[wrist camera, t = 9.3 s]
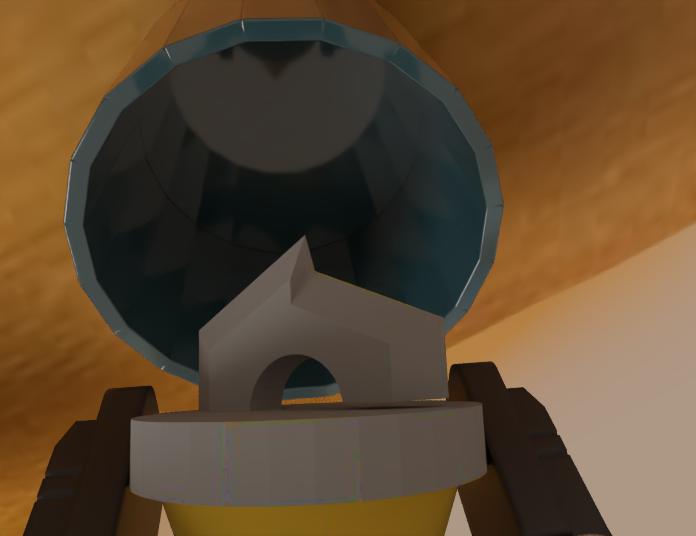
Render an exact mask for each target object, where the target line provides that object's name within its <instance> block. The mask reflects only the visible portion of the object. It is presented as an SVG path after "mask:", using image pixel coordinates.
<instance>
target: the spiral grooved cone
mask: <svg viewBox="0 0 696 536" xmlns="http://www.w3.org/2000/svg"><path fill="white" fill-rule="evenodd" d="M309 358H314V359H315V360H317V361H319V362H320V363H322V364H323V365H324V366H325V367H326V368H327V369H328V370H329V371H330V373H331V374H332V375H333V377H334V378H335V380H336V382H337V384H338V386H339V389H340V392H341V396H342V399H343V402H335V403H310V404H289V405H281V402H282V395H283V390H284V387H285V385H286V382H287V380H288V378H289V377H290V375H291V373H292V372H293V371H294V370H295V369H296V368H297V366H298V365H300V364H301V363H302V362H304V361H305V360H307V359H309ZM441 398H449V392H448V377H447V363H446V348H445V333H444V318H443V317H440V316H438V315H435V314H432V313H429V312H427V311H424V310H421V309H418V308H415V307H413V306H410V305H407V304H404V303H402V302H399V301H396V300H393V299H391V298H388V297H385V296H382V295H379V294H377V293H374V292H371V291H368V290H366V289H363V288H360V287H357V286H354V285H352V284H349V283H346V282H343V281H341V280H338V279H335V278H332V277H330V276H327V275H324V274H321V273H318V272H316V271H315V270H314V266H313V262H312V259H311V255H310V251H309V248H308V244H307V240H306V237H305V235H304V236H303V237H302V238H301V239H300V240H299V241H298V242H297V243H296V244H294V245H293V246H292V247H291V248H290V249H289V250H288V251H287V252H286V253H285V254H283V255H282V256H281V257H280V258H279V259H278V260H277V261H276V262H275V263H273V264H272V265H271V266H270V267H269V268H268V269H267V270H266V271H265V272H263V273H262V274H261V275H260V276H259V277H258V278H257V279H256V280H255V281H253V282H252V283H251V284H250V285H249V286H248V287H247V288H246V289H245V290H243V291H242V292H241V293H240V294H239V295H238V296H237V297H236V298H235V299H233V300H232V301H231V302H230V303H229V304H228V305H227V306H226V307H225V308H223V309H222V310H221V311H220V312H219V313H218V314H217V315H216V316H215V317H214V318H212V319H211V320H210V321H209V322H208V323H207V324H206V325H205V326H204V327H202V328H201V329H200V330H199V410H193V411H181V412H171V413H161V414H153V415H145V416H139V417H135V418H132V419H131V438H130V484H129V487H130V490H131V492H132V493H134V494H136V495H138V496H140V497H143V498H148V499H152V500H156V501H161V502H162V503H163V506H164V509H165V511H166V514H167V517H168V520H169V523H170V526H171V528H172V531H173V534H174V536H444V534H445V531H446V527H447V524H448V520H449V517H450V513H451V509H452V506H453V502H454V499H455V495H456V492H457V488H458V486H459V485H463V484H466V483H468V482H471V481H474V480H476V479H479V478H480V477H482V476H483V475H484V474H486V473H487V462H486V449H485V436H484V423H483V410H482V403H479V402H469V401H432V400H429V401H427V400H426V399H441ZM410 400H426V401H410Z"/></svg>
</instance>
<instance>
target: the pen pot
mask: <svg viewBox="0 0 696 536" xmlns="http://www.w3.org/2000/svg"><path fill="white" fill-rule="evenodd" d="M503 203H504V202H503V196H502V191H501V186H500V181H499V175H498V170H497V165H496V160H495V154H494V149H493V146H492V142H491V141H490V139H489V137H488V136H487V134H486V133H485V131H484V129H483V128H482V126H481V124H480V123H479V121H478V120H477V118H476V116H475V115H474V113H473V111H472V110H471V108H470V107H469V105H468V103H467V102H466V100H465V98H464V97H463V95H462V93H461V92H460V90H459V89H458V88H457V87H456V85H455V84H454V83H453V82H452V81H451V80H450V79H449V78H448V76H447V75H446V74H445V73H444V72H443V71H442V70H441V68H440V67H439V66H438V65H437V64H436V63H435V62H434V61H433V59H432V58H431V57H430V56H429V55H428V54H427V53H426V52H425V50H424V49H423V48H422V47H421V46H420V45H419V44H418V42H417V41H416V40H415V39H414V38H413V37H412V36H411V35H410V33H409V32H408V31H407V30H406V29H405V28H404V27H403V26H402V24H401V23H400V22H399V21H398V20H397V19H396V18H395V17H394V16H393V15H392V14H391V13H389V12H388V11H387V10H386V9H384V8H383V7H382V6H381V5H380V4H379V3H378V2H377V1H375V0H179V1H178V2H177V3H175V4H174V5H173V6H172V7H171V9H170V10H169V11H168V12H166V13H165V14H164V15H163V16H162V17H161V18H159V19H158V20H157V22H156V23H155V24H154V25H153V27H152V28H151V30H150V31H149V33H148V34H147V35H146V37H145V38H144V40H143V41H142V43H141V44H140V46H139V47H138V48H137V50H136V51H135V53H134V54H133V56H132V57H131V59H130V60H129V61H128V63H127V64H126V66H125V67H124V69H123V70H122V71H121V73H120V74H119V76H118V77H117V79H116V80H115V82H114V83H113V84H112V86H111V87H110V89H109V90H108V92H107V93H106V95H105V96H104V97H103V99H102V101H101V103H100V104H99V106H98V108H97V110H96V112H95V114H94V116H93V117H92V119H91V121H90V123H89V125H88V127H87V128H86V130H85V132H84V134H83V136H82V138H81V140H80V141H79V143H78V145H77V147H76V149H75V151H74V152H73V154H72V156H71V160H70V165H69V174H68V183H67V192H66V201H65V210H64V219H63V223H64V229H65V233H66V237H67V240H68V244H69V248H70V251H71V255H72V259H73V262H74V266H75V270H76V273H77V277H78V281H79V283H80V285H81V287H82V288H83V290H84V291H85V293H86V294H87V296H88V297H89V298H90V300H91V301H92V303H93V304H94V306H95V307H96V308H97V310H98V311H99V313H100V314H101V316H102V317H103V319H104V320H105V321H106V323H107V324H108V326H109V327H110V329H111V330H112V331H113V332H114V334H115V335H116V336H118V337H119V338H120V339H122V340H123V341H124V342H125V343H127V344H128V345H129V346H131V347H132V348H133V349H134V350H136V351H137V352H138V353H140V354H141V355H142V356H143V357H145V358H146V359H147V360H148V361H150V362H151V363H152V364H154V365H155V366H156V367H157V368H159V369H161V370H163V371H165V372H167V373H170V374H172V375H175V376H177V377H179V378H182V379H184V380H186V381H189V382H191V383H194V384H196V385H198V386H199V330H200V329H201V328H202V327H204V326H205V325H206V324H207V323H208V322H209V321H210V320H211V319H212V318H214V317H215V316H216V315H217V314H218V313H219V312H220V311H221V310H222V309H223V308H225V307H226V306H227V305H228V304H229V303H230V302H231V301H232V300H233V299H235V298H236V297H237V296H238V295H239V294H240V293H241V292H242V291H243V290H245V289H246V288H247V287H248V286H249V285H250V284H251V283H252V282H253V281H255V280H256V279H257V278H258V277H259V276H260V275H261V274H262V273H263V272H265V271H266V270H267V269H268V268H269V267H270V266H271V265H272V264H273V263H275V262H276V261H277V260H278V259H279V258H280V257H281V256H282V255H283V254H285V253H286V252H287V251H288V250H289V249H290V248H291V247H292V246H293V245H294V244H296V243H297V242H298V241H299V240H300V239H301V238H302V237H303V236H304V235H305V237H306V240H307V244H308V248H309V251H310V255H311V259H312V262H313V266H314V270H315V271H316V272H318V273H321V274H324V275H327V276H330V277H332V278H335V279H338V280H341V281H343V282H346V283H349V284H352V285H354V286H357V287H360V288H363V289H366V290H368V291H371V292H374V293H377V294H379V295H382V296H385V297H388V298H391V299H393V300H396V301H399V302H402V303H404V304H407V305H410V306H413V307H415V308H418V309H421V310H424V311H427V312H429V313H432V314H435V315H438V316H440V317H443V318H444V333H445V335H446V334H447V333H448V332H449V331H450V330H451V329H452V328H453V327H454V326H455V325H456V323H457V322H458V321H459V320H460V319H461V318H462V317H463V316H464V315H465V314H466V313H467V312H468V310H469V309H470V307H471V305H472V304H473V302H474V300H475V298H476V296H477V294H478V292H479V290H480V288H481V286H482V285H483V283H484V281H485V279H486V277H487V275H488V273H489V271H490V269H491V267H492V265H493V264H494V260H495V256H496V250H497V244H498V237H499V231H500V225H501V219H502V213H503V207H504V205H503ZM338 393H341V392H340V389H339V386H338V384H337V382H336V380H335V378H334V377H333V375H332V374H331V373H330V371H329V370H328V369H327V368H326V367H325V366H324V365H323V364H322V363H320V362H319V361H317V360H315V359H314V358H309V359H307V360H305V361H304V362H302V363H301V364H300V365H298V366H297V368H296V369H295V370H294V371H293V372H292V373H291V375H290V377H289V378H288V380H287V382H286V385H285V387H284V390H283V395H282V400H290V399H304V398H317V397H327V396H332V395H335V394H338Z"/></svg>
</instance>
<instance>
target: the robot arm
mask: <svg viewBox="0 0 696 536" xmlns="http://www.w3.org/2000/svg"><path fill="white" fill-rule="evenodd" d="M448 392H449V398H446V401H469V402H479V403H482V410H483V423H484V436H485V449H486V462H487V473H486V474H484V475H483V476H482V477H480V478H479V479H476V480H474V481H471V482H468V483H466V484H463V485H459V486H458V488H457V489H458V492H459V495H460V499H461V502H462V505H463V508H464V512H465V515H466V518H467V521H468V524H469V527H470V531H471V534H472V536H612V534H611V533H610V531H609V530H608V528H607V526H606V524H605V522H604V520H603V518H602V516H601V514H600V512H599V510H598V509H597V507H596V505H595V503H594V501H593V499H592V497H591V495H590V493H589V491H588V490H587V487H586V485H585V484H584V482H583V480H582V478H581V476H580V474H579V472H578V470H577V468H576V466H575V464H574V462H573V460H572V459H571V457H570V455H568V454H567V449H566V447H565V445H564V443H563V441H562V439H561V437H560V435H557V430H556V428H555V426H554V424H553V422H552V420H551V418H550V416H549V414H548V412H547V411H546V409H545V407H544V406H543V405H542V404H541V403H540V402H539V401H538V400H537V399H535V398H534V397H533V396H532V395H531V394H530V393H529V392H528V391H527V390H526V389H525V388H523V387H521V388H508V389H506V386H505V384H504V382H503V380H502V378H501V376H500V373H499V371H498V369H497V367H496V366H495V364H494V363H493V362H477V363H463V364H453V365H452V366H451V368H450V373H449V380H448ZM153 414H159V410H158V405H157V401H156V396H155V392H154V389H153V387H152V386H139V387H126V388H112V389H108V390H107V391H106V392H105V394H104V397H103V400H102V404H101V407H100V410H99V414H98V417H97V420H88V421H76V422H75V423H74V424H73V426H72V427H71V428H70V429H69V430H68V431H67V433H66V434H65V435H64V436H63V437H62V438H61V440H60V441H59V442H58V443H57V444H56V445H55V447H54V450H53V453H52V456H51V459H50V461H49V464H48V467H47V470H46V472H45V475H46V476H45V479H43V481H42V484H41V486H40V489H39V492H38V495H37V502H35V503H34V506H33V509H32V511H31V514H30V517H29V520H28V523H27V525H26V528H25V531H24V534H23V536H157V535H158V529H159V523H160V517H161V510H162V504H163V503H162V502H161V501H156V500H152V499H148V498H143V497H140V496H138V495H136V494H134V493H132V492H131V490H130V487H129V484H130V438H131V419H132V418H135V417H139V416H145V415H153Z"/></svg>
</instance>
